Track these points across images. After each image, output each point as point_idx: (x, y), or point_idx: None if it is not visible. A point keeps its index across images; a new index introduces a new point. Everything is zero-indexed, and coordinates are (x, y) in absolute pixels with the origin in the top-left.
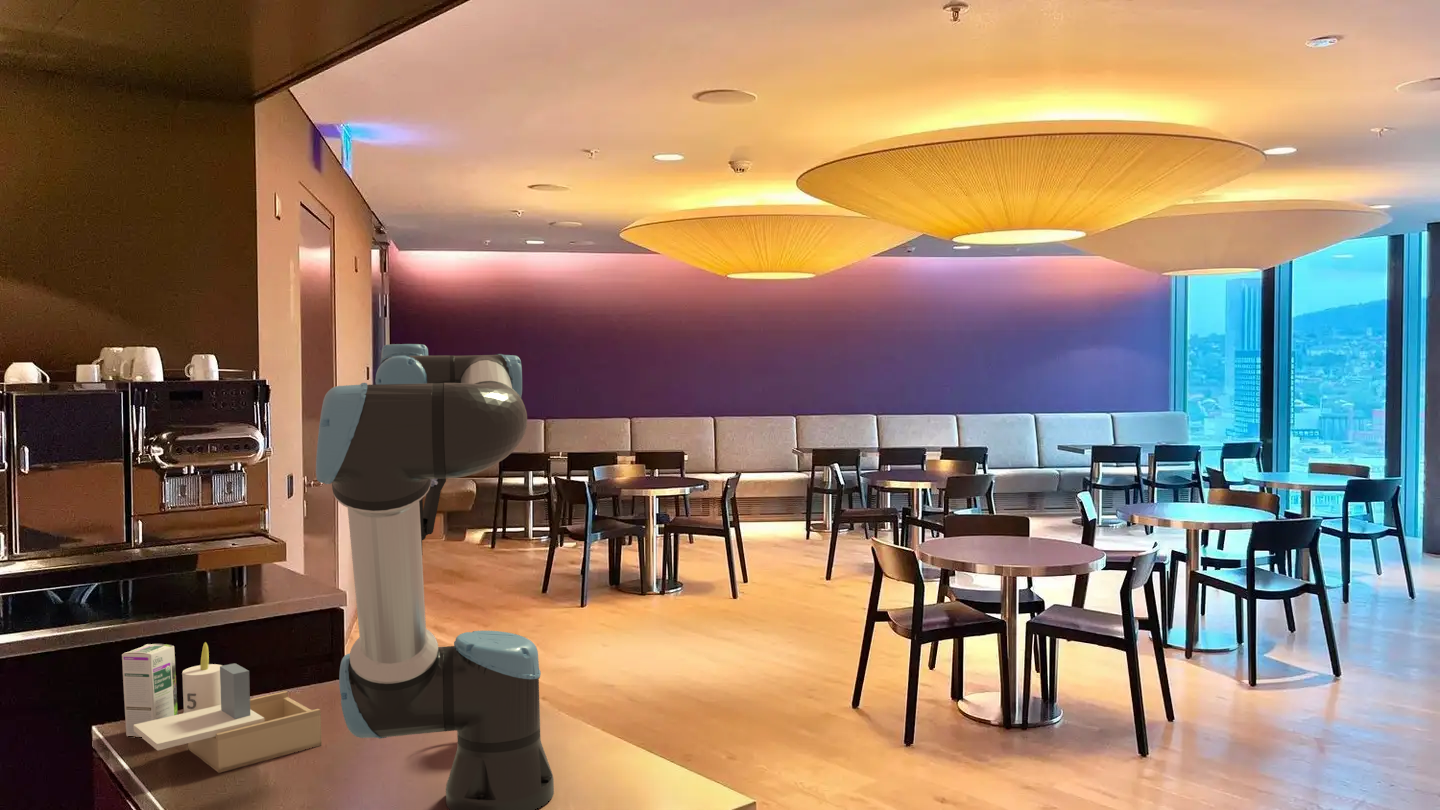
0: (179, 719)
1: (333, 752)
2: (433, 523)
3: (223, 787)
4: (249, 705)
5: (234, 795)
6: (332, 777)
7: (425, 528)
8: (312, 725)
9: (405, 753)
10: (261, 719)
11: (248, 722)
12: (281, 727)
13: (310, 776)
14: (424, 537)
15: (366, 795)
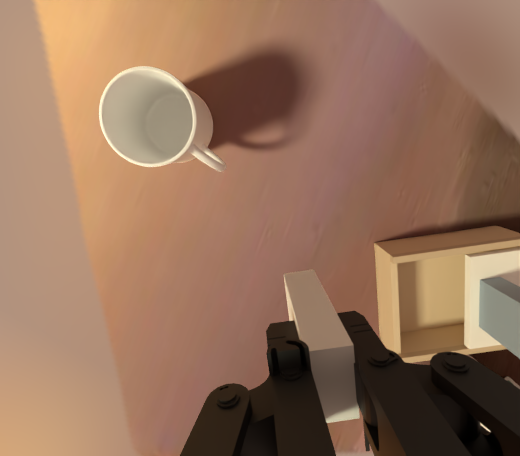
0: None
1: (371, 209)
2: (195, 439)
3: (508, 176)
4: (490, 285)
5: (509, 143)
6: (404, 125)
7: (250, 423)
8: (396, 249)
9: (302, 148)
10: (474, 256)
11: (491, 253)
12: (442, 245)
13: (423, 146)
14: (273, 350)
15: (396, 34)
